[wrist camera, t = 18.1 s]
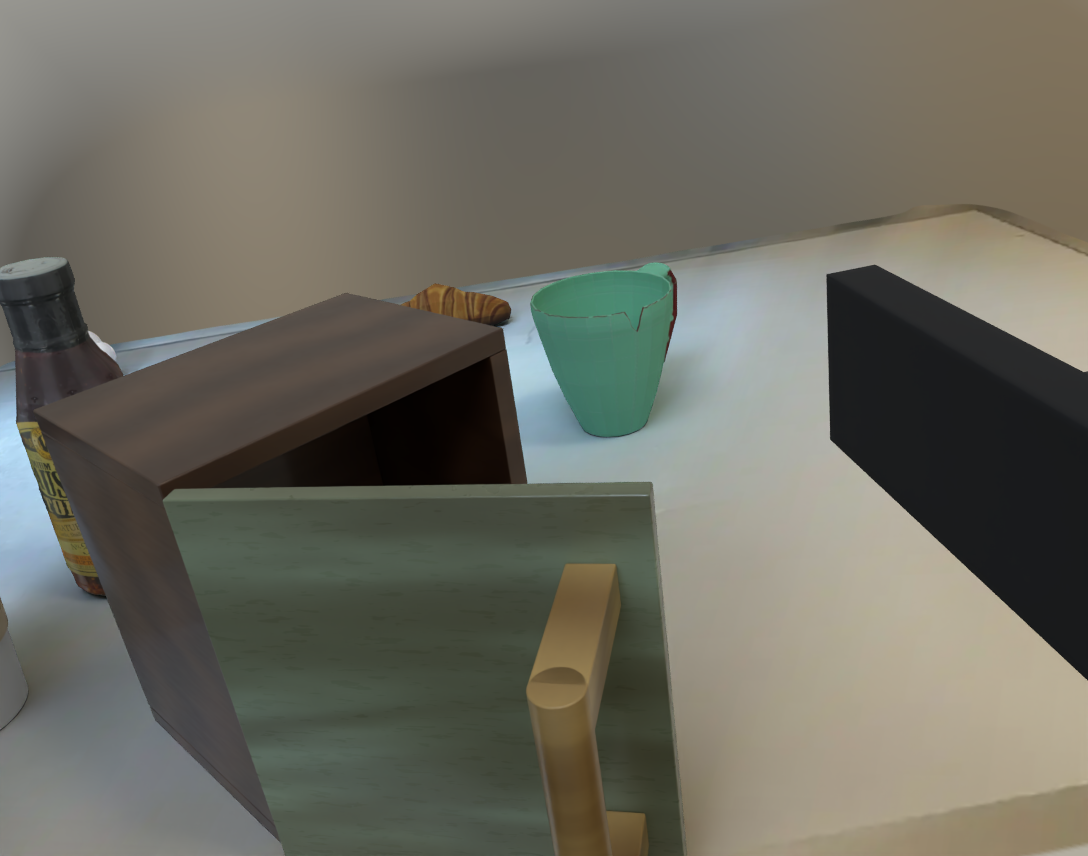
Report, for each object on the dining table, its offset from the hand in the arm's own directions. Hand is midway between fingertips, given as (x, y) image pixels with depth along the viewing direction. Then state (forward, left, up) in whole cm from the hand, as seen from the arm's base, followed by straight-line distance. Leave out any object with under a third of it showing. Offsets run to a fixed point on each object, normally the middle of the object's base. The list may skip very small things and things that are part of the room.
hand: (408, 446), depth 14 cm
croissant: (-37, +67, -25) cm, 81 cm away
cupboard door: (-8, +8, -25) cm, 27 cm away
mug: (-14, +52, -25) cm, 60 cm away
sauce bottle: (-39, +26, -25) cm, 53 cm away
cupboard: (-19, +20, -25) cm, 37 cm away
